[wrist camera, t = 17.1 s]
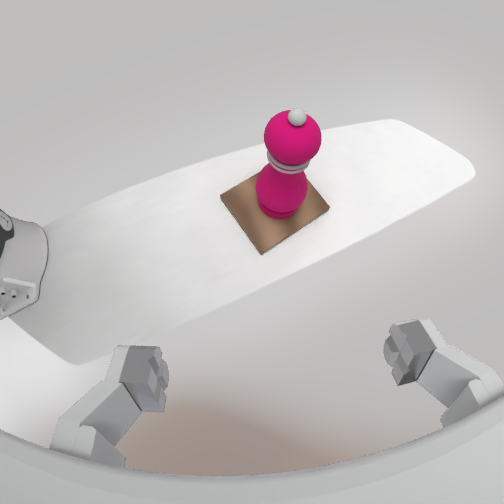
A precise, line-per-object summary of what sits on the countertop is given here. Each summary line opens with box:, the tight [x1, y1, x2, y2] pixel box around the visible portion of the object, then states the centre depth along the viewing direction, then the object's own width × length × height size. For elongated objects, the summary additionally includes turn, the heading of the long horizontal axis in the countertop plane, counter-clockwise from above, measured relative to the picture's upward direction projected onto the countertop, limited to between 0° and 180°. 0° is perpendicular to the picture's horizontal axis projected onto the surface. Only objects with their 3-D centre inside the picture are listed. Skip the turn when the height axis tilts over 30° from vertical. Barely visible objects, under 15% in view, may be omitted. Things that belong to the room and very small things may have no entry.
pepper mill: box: [255, 108, 321, 219], centre depth 34 cm, size 7×7×20 cm
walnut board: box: [220, 172, 330, 255], centre depth 44 cm, size 13×11×1 cm
